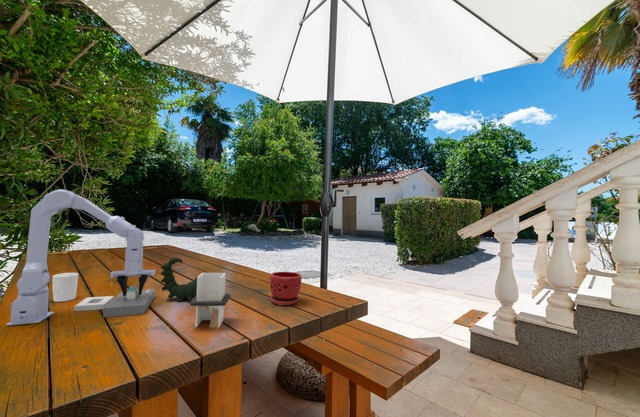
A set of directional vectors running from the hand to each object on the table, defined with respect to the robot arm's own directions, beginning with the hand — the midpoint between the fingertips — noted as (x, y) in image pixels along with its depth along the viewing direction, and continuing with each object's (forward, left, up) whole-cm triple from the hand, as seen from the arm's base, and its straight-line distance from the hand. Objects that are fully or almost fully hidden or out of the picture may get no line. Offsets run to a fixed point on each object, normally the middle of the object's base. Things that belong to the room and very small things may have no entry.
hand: (132, 294), depth 110 cm
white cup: (+16, +27, -4) cm, 32 cm away
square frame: (+4, +13, -4) cm, 14 cm away
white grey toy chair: (-26, -28, -5) cm, 39 cm away
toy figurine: (+2, -21, -4) cm, 22 cm away
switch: (0, 0, -4) cm, 4 cm away
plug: (0, 0, -4) cm, 4 cm away
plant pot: (-11, -58, -4) cm, 59 cm away
